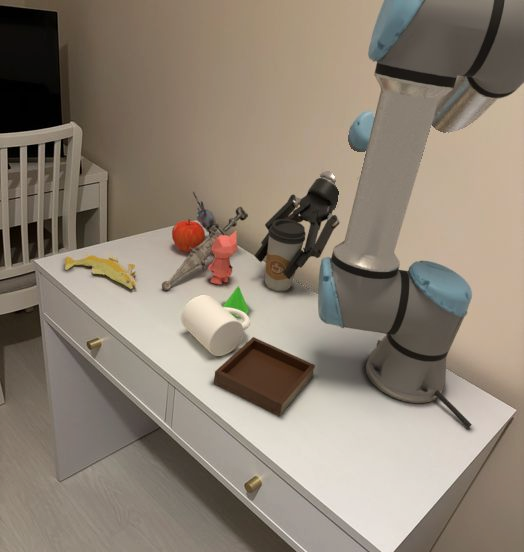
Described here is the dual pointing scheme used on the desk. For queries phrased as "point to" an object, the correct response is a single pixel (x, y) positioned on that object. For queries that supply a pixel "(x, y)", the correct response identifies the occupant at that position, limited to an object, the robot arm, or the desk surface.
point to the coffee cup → (282, 252)
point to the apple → (187, 235)
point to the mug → (214, 324)
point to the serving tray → (264, 375)
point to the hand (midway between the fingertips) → (271, 267)
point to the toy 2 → (205, 216)
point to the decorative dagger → (203, 249)
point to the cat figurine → (222, 257)
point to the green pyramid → (237, 302)
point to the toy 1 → (106, 268)
